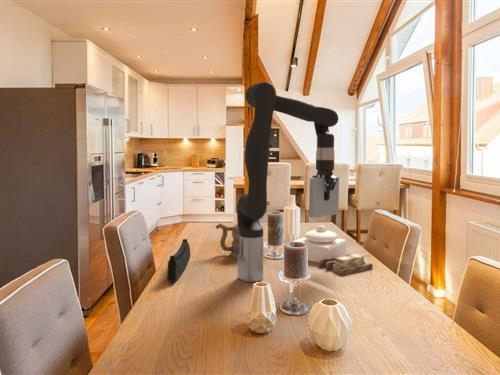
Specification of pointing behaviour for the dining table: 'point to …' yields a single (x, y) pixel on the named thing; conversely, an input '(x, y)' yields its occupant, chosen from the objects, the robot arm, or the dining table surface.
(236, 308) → the dining table surface
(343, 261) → the offcut upper
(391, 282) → the dining table surface
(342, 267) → the offcut lower
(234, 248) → the tankard
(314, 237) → the butter dish
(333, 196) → the grey board
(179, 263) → the black curved panel
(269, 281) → the dining table surface
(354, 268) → the walnut rack
